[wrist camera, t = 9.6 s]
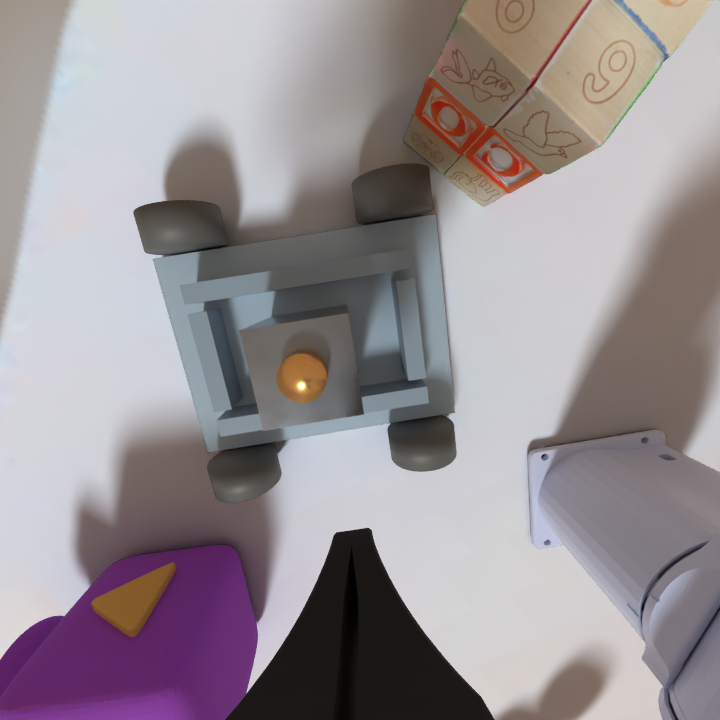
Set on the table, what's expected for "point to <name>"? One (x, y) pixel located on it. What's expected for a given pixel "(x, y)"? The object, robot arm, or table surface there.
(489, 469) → the table surface
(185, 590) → the toy camera
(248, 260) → the chassis
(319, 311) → the metal block with knob
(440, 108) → the stack of blocks
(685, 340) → the table surface
